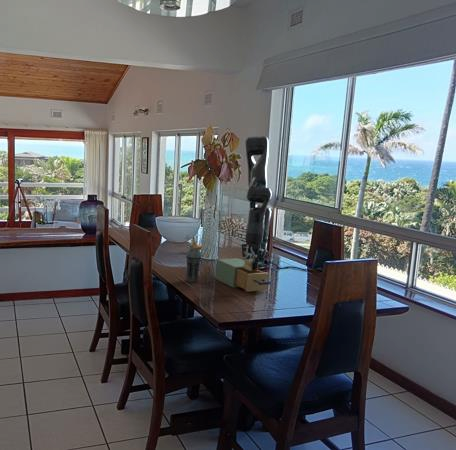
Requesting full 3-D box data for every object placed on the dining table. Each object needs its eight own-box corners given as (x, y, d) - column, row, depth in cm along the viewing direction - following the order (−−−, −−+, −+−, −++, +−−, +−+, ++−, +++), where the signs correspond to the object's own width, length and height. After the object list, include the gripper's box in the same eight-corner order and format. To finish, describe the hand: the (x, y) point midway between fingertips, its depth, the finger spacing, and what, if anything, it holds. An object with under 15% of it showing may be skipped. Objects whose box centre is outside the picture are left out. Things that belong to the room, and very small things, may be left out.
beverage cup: (202, 281, 214) (206, 239, 210) (193, 284, 208) (197, 241, 205) (190, 277, 218) (194, 236, 215) (180, 280, 213) (184, 238, 210)
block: (251, 267, 209) (252, 258, 209) (257, 270, 205) (258, 260, 205) (243, 268, 207) (244, 258, 207) (249, 270, 203) (250, 261, 203)
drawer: (274, 293, 201) (276, 276, 199) (253, 295, 195) (255, 277, 194) (248, 281, 217) (250, 265, 215) (228, 282, 212) (230, 266, 210)
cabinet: (254, 285, 213) (257, 265, 212) (232, 287, 208) (235, 267, 206) (236, 277, 226) (238, 258, 225) (214, 278, 221) (216, 259, 219)
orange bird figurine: (213, 256, 270) (215, 237, 268) (183, 253, 271) (184, 234, 269) (213, 253, 276) (215, 235, 275) (183, 250, 278) (185, 232, 276)
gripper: (272, 234, 199) (267, 272, 202) (251, 228, 212) (247, 264, 214) (258, 234, 196) (253, 273, 198) (238, 228, 208) (234, 265, 211)
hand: (250, 268), depth 206 cm, fingers closed on block, 4 cm apart
